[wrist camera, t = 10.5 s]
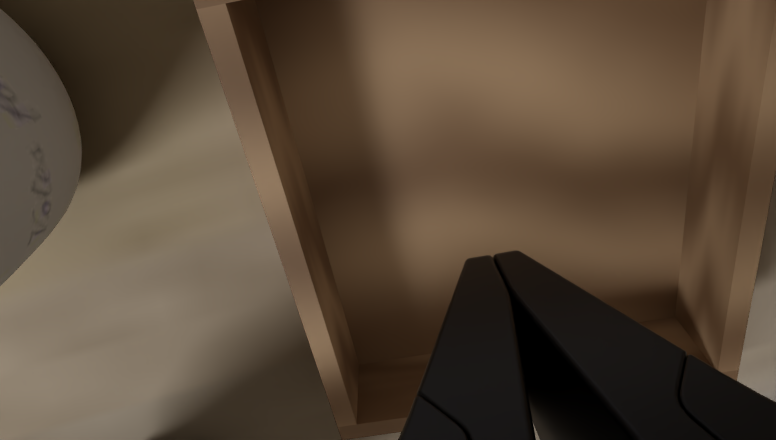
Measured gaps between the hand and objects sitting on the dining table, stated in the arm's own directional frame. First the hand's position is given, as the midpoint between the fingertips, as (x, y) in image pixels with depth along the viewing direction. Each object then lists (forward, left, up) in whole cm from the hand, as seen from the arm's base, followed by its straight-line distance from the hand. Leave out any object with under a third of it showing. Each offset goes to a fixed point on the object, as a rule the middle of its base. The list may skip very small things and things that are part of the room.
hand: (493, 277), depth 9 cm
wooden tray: (-4, -2, -12) cm, 13 cm away
